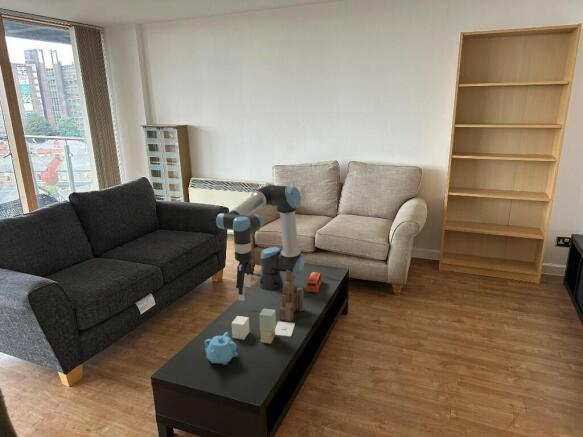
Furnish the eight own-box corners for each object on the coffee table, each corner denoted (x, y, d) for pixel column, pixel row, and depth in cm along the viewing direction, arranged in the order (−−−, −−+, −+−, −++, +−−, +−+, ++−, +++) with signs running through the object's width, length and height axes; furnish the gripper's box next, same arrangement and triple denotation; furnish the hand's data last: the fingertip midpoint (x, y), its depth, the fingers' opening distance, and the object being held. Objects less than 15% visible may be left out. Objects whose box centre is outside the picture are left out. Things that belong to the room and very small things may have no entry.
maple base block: (265, 334, 197) (265, 323, 196) (275, 335, 196) (275, 324, 194) (260, 342, 191) (260, 330, 189) (271, 343, 189) (270, 332, 188)
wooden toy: (290, 322, 207) (289, 277, 200) (279, 319, 210) (278, 275, 203) (304, 309, 220) (304, 266, 213) (293, 306, 223) (293, 264, 216)
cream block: (238, 330, 201) (237, 315, 199) (249, 331, 199) (248, 317, 197) (232, 337, 194) (231, 323, 192) (244, 339, 193) (243, 324, 191)
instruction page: (277, 322, 208) (277, 321, 208) (295, 323, 206) (295, 322, 206) (272, 334, 196) (272, 333, 196) (291, 336, 195) (290, 335, 195)
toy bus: (305, 293, 239) (305, 281, 237) (311, 280, 256) (311, 269, 254) (317, 294, 237) (318, 282, 235) (322, 281, 254) (322, 270, 252)
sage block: (264, 323, 196) (263, 308, 193) (276, 324, 194) (275, 310, 192) (259, 329, 190) (259, 314, 188) (272, 331, 188) (271, 316, 186)
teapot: (230, 348, 187) (228, 326, 184) (241, 364, 174) (239, 341, 172) (203, 357, 181) (201, 334, 178) (213, 373, 169) (210, 349, 166)
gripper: (241, 241, 196) (243, 281, 202) (227, 261, 172) (230, 305, 178) (256, 241, 195) (258, 282, 201) (244, 261, 172) (246, 306, 177)
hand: (245, 293), depth 190 cm, fingers open, 13 cm apart
